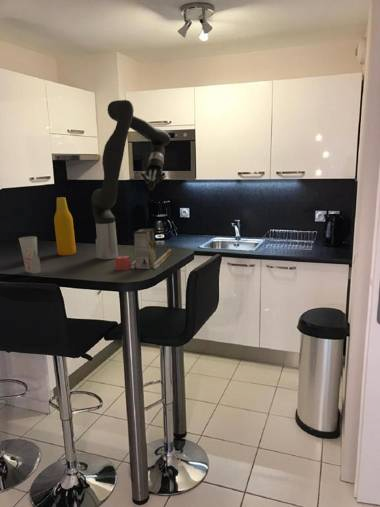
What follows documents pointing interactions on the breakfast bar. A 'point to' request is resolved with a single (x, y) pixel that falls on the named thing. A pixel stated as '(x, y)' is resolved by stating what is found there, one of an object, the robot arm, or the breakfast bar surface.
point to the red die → (122, 262)
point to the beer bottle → (64, 229)
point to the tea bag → (32, 262)
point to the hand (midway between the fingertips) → (150, 188)
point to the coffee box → (144, 248)
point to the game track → (157, 260)
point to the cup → (28, 244)
